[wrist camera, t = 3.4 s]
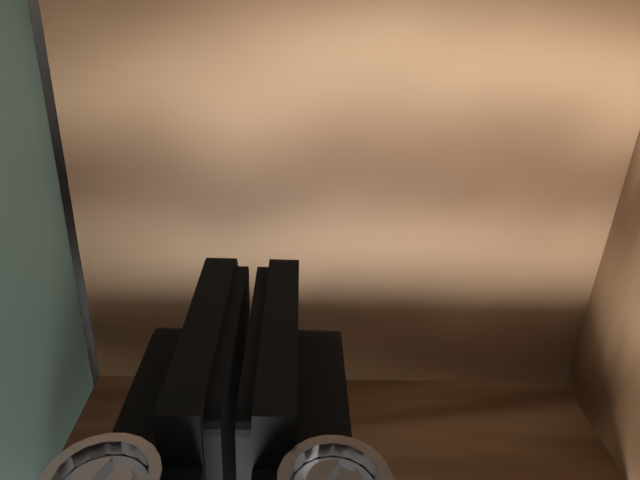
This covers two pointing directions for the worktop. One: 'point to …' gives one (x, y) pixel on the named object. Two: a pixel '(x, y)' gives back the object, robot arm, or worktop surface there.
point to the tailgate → (34, 270)
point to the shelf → (377, 207)
